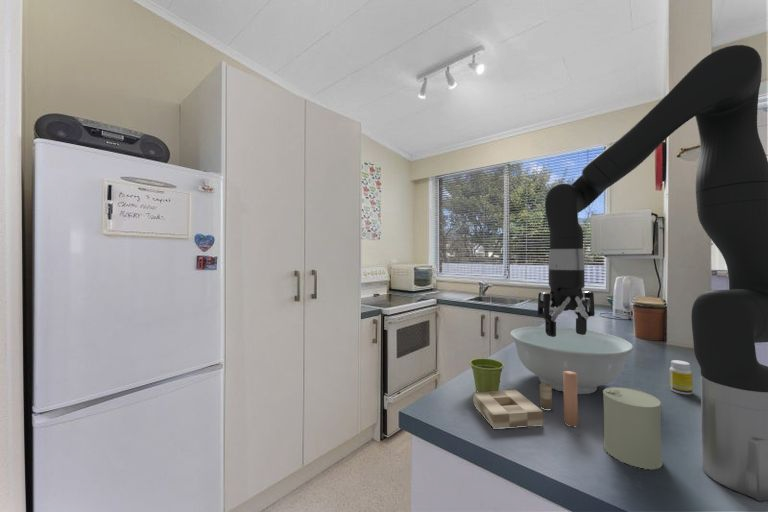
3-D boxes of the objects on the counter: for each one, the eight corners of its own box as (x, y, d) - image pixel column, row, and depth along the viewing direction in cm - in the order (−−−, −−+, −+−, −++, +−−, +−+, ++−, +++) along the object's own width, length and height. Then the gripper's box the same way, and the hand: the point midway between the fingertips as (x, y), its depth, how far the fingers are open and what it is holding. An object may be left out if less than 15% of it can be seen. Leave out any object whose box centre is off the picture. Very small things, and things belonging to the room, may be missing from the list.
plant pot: (472, 384, 98) (471, 356, 98) (504, 389, 94) (504, 360, 94) (468, 397, 89) (467, 366, 89) (503, 402, 86) (503, 370, 86)
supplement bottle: (697, 395, 88) (696, 365, 88) (677, 394, 89) (676, 364, 89) (684, 388, 93) (683, 359, 93) (665, 387, 94) (665, 359, 94)
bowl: (617, 373, 105) (616, 329, 105) (651, 419, 76) (650, 358, 76) (513, 361, 119) (512, 322, 119) (508, 396, 90) (507, 344, 90)
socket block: (543, 426, 74) (542, 411, 74) (493, 430, 72) (493, 414, 72) (516, 402, 85) (515, 389, 85) (473, 405, 84) (473, 392, 84)
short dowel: (554, 410, 81) (554, 387, 81) (544, 411, 81) (543, 387, 81) (547, 405, 84) (547, 382, 84) (537, 406, 83) (537, 383, 83)
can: (605, 436, 69) (604, 381, 69) (661, 451, 63) (660, 392, 63) (601, 456, 62) (600, 395, 62) (663, 477, 56) (662, 409, 56)
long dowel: (580, 426, 73) (579, 374, 73) (569, 427, 73) (568, 375, 73) (572, 420, 76) (571, 370, 76) (561, 421, 76) (560, 371, 76)
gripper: (553, 268, 71) (553, 341, 71) (604, 268, 74) (604, 337, 74) (530, 267, 78) (530, 333, 78) (577, 267, 82) (577, 330, 82)
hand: (566, 335), depth 76 cm, fingers open, 8 cm apart
